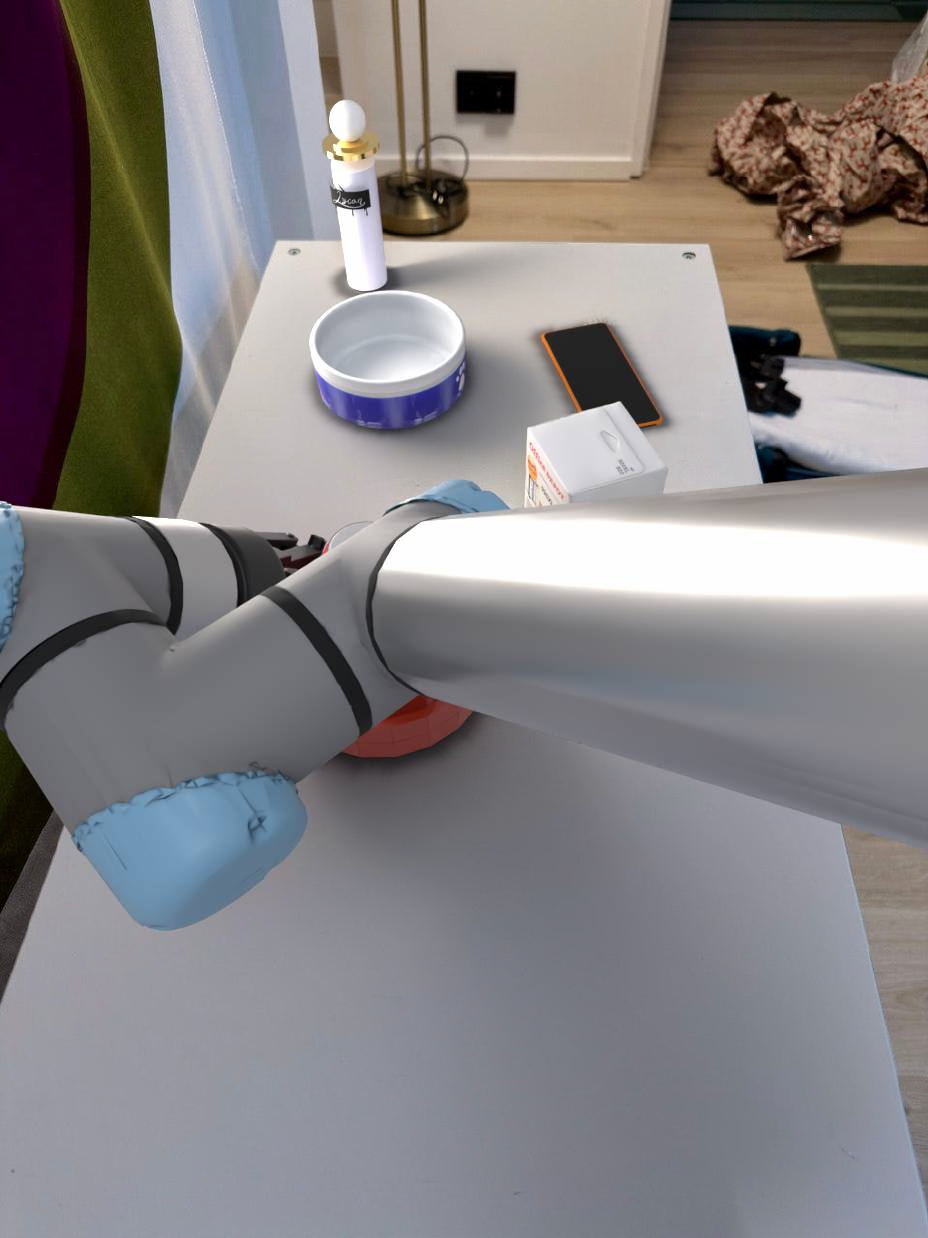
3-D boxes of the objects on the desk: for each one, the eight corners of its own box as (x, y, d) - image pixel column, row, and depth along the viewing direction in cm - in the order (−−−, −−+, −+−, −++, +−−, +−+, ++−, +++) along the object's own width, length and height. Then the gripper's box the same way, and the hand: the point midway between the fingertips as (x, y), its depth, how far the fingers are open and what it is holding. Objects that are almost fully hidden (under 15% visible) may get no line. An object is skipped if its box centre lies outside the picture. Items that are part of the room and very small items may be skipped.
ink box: (520, 524, 80) (523, 423, 71) (605, 498, 82) (619, 395, 73) (560, 594, 75) (570, 495, 66) (650, 564, 77) (672, 464, 68)
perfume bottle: (351, 268, 105) (326, 85, 89) (399, 273, 105) (381, 90, 89) (336, 296, 102) (307, 112, 86) (385, 302, 101) (365, 116, 85)
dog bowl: (347, 329, 98) (339, 280, 93) (482, 348, 96) (482, 298, 91) (297, 420, 90) (286, 370, 85) (444, 443, 87) (441, 394, 82)
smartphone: (591, 440, 86) (592, 434, 86) (539, 339, 96) (539, 332, 96) (665, 425, 87) (666, 419, 87) (606, 326, 97) (607, 319, 96)
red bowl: (519, 725, 68) (521, 690, 64) (304, 790, 65) (292, 757, 61) (452, 567, 78) (450, 527, 74) (263, 617, 75) (250, 579, 71)
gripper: (53, 575, 52) (297, 577, 72) (295, 748, 44) (489, 696, 65) (94, 454, 50) (331, 492, 71) (352, 614, 43) (533, 605, 63)
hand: (407, 590), depth 68 cm, fingers closed on beverage can, 6 cm apart
